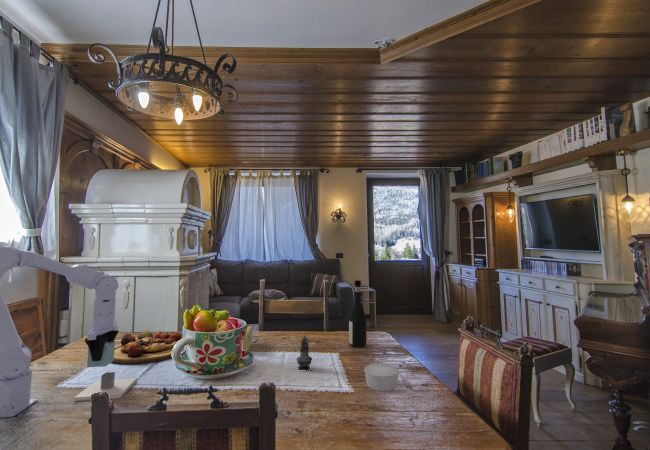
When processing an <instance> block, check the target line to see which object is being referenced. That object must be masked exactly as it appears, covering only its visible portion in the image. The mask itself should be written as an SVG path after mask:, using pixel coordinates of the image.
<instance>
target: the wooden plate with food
mask: <svg viewBox="0 0 650 450" xmlns="http://www.w3.org/2000/svg"><path fill="white" fill-rule="evenodd" d="M182 335H183V334H181V333H180V332H176V333H175V332H174V331H172V333H169V332H162V330H160V331H158V332H156V333H155V334H153V333H152V331H150V330H148V329H145V330H143V331H142V332H141V333H139V335H138V336H137V339H136V336H135V335H134V334H133V333H132V332H130V331H128V332H126V333H125V334H124V335H123V336H122V337H121V339H120V344H117V345H116V344H115V349H114V361H113V362H112V363H116V364H146V363H154V362H160V361H165V360H168V358H169V359H172V358H171V351H172V348H173V346H174V344H175V343H176V342H177V341H178V340H180V339H181V338H182V337H183V336H182ZM181 340H182V339H181ZM164 359H165V360H164Z"/></svg>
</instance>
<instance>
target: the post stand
mask: <svg viewBox="0 0 650 450" xmlns="http://www.w3.org/2000/svg"><path fill="white" fill-rule="evenodd" d="M115 376H116V374H115V371H111V372H110V371H109V372H108V371H107V372H104V373H103V374H102V375H101V380H95V381H93V382H92V383H91V384H90V385H89V386H88V385H87V387H85V388H84V389H83V390H82V391H81V392H79V393H78V394H77V395H75V396H74V398H73V402H81V401H92V400H91V395H92V394H94V393H98V392H107V393H109V395H110V399H109V400H111V399H120V398H122V397H123V396H124V395H125V394H126V393H127V392H128V391H129V390H130V389H131V388H132V387H133V386H134V385H135V384H136V382H137V378H124V379H115Z"/></svg>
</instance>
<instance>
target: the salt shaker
mask: <svg viewBox="0 0 650 450" xmlns="http://www.w3.org/2000/svg"><path fill="white" fill-rule="evenodd" d="M299 349H300V354H299V356H297V357H296V361H297V364H298V365H299V366H297V368H298V369H299V370H306V371H305V372H308V371H307V370H309V369H310V367H311V366H310V365H311V363H312V361H313V358H312V357H311V356H310V355H309V352H310V351H309V350H310V347H309V339H308V338H307V337H306V335H304V336H303V338H301V339H300V348H299ZM299 370H298V371H299ZM309 371H310V370H309Z"/></svg>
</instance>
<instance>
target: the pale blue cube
mask: <svg viewBox="0 0 650 450" xmlns="http://www.w3.org/2000/svg"><path fill="white" fill-rule="evenodd" d="M115 346H116V341H114V342H106V343H105V346H104V349H103V354H102V358H101V360H100V361H92V357H91V353H90V349H89V347H88V346H87V347H88V349H87V350H88V351H87V365H86V368H98V367H99V368H102V367H107V366H109V365H111V364H112V363H114V362H113V361H114V349H115Z"/></svg>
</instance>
